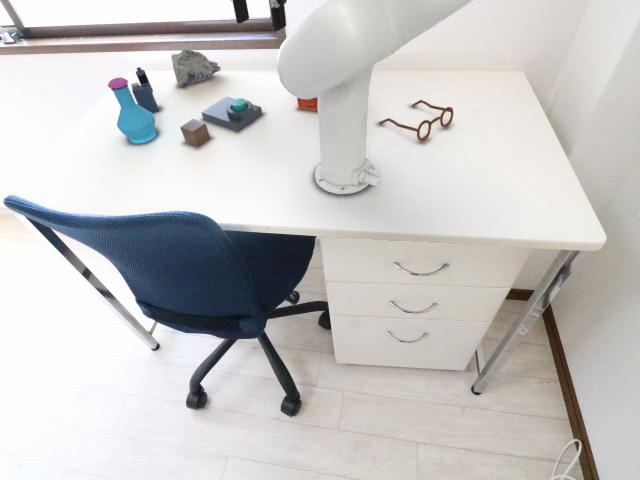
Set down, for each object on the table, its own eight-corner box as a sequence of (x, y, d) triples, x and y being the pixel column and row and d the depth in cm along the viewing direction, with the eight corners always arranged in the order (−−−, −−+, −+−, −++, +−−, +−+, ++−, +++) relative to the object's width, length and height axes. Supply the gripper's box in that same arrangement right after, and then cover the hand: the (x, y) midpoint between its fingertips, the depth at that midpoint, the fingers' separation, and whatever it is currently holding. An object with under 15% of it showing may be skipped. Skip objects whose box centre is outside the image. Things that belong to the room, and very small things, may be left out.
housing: (263, 114, 103) (261, 101, 100) (239, 132, 97) (236, 118, 94) (228, 103, 108) (224, 90, 105) (203, 119, 103) (199, 106, 100)
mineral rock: (223, 74, 121) (215, 41, 114) (211, 90, 114) (202, 56, 107) (187, 73, 123) (176, 41, 116) (173, 88, 116) (161, 55, 109)
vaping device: (160, 110, 107) (143, 69, 99) (142, 115, 106) (123, 73, 97) (160, 106, 109) (143, 65, 100) (141, 111, 108) (122, 69, 99)
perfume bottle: (150, 147, 95) (123, 91, 84) (118, 145, 97) (88, 89, 86) (166, 127, 101) (144, 72, 90) (136, 125, 103) (110, 71, 91)
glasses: (418, 145, 89) (421, 126, 85) (378, 124, 96) (379, 106, 92) (452, 124, 94) (457, 105, 90) (413, 105, 101) (415, 87, 97)
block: (210, 138, 96) (205, 123, 93) (198, 147, 94) (192, 131, 90) (198, 133, 98) (193, 118, 95) (185, 142, 96) (179, 127, 92)
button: (250, 106, 99) (248, 100, 98) (240, 113, 97) (238, 107, 95) (239, 102, 101) (237, 96, 99) (228, 109, 98) (227, 103, 97)
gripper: (190, -85, 64) (217, 24, 76) (269, -82, 56) (284, 38, 69) (221, -93, 67) (241, 13, 80) (298, -91, 60) (307, 25, 73)
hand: (261, 24), depth 75 cm, fingers open, 9 cm apart
